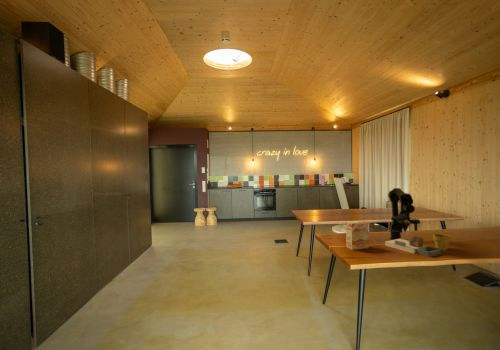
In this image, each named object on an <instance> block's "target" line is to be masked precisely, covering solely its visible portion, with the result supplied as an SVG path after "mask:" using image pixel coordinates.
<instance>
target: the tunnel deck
mask: <svg viewBox="0 0 500 350" xmlns="http://www.w3.org/2000/svg"><path fill="white" fill-rule="evenodd" d="M384 246H386V247H389V248H393V249H397V250H400V251H404V252H406V253H407V252H408V253H411V254H417V255H421V256H425V257H429V258H433V257H435V256H436V257H437V256H440V255H443V250H442V249H439V248H436V247H434V246H430V244H427V243H423V247H419V248H417V247H413V246H409V239H408V240H407V239H403V238H401V239H395V240H392V239H389V240H385V241H384Z"/></svg>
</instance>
